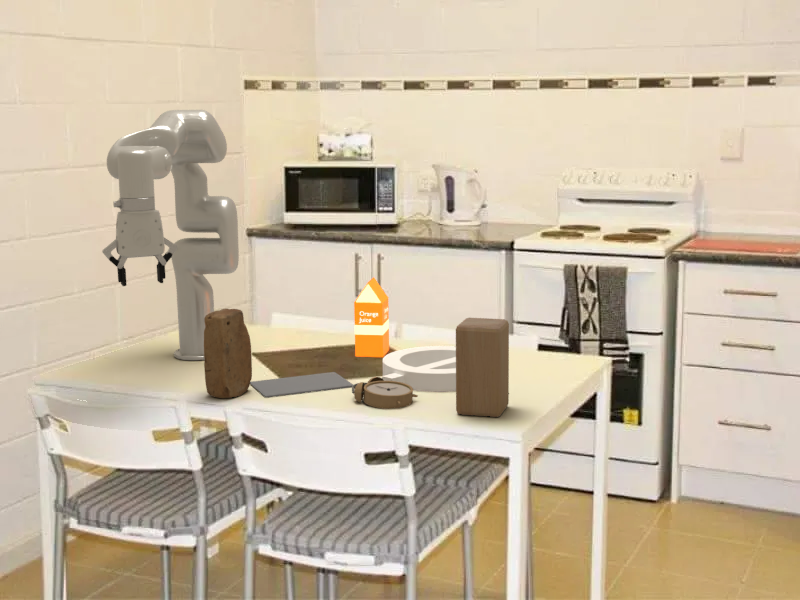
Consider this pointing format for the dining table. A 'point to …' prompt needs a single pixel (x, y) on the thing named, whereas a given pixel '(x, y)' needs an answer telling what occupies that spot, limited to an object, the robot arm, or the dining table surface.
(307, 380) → the mat
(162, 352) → the dining table surface
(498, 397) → the wooden block
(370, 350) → the orange juice
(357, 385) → the alarm clock
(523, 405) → the dining table surface
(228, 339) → the block
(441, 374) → the white circle with bar
